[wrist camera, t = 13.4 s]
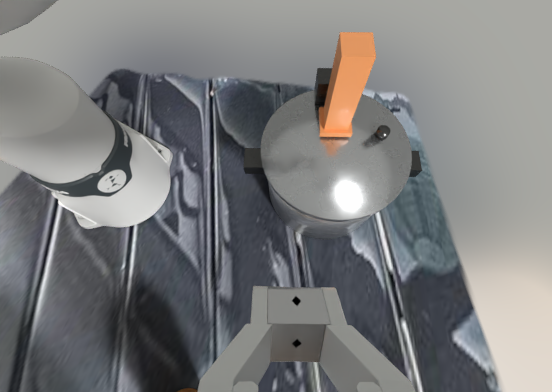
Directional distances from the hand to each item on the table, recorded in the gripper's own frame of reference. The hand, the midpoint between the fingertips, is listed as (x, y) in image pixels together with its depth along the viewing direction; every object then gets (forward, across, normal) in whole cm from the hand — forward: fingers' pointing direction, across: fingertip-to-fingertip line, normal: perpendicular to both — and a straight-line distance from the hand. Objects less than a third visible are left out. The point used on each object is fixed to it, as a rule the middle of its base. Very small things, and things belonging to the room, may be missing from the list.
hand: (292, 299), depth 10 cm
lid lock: (+29, -8, -1) cm, 30 cm away
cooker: (+35, -9, +11) cm, 38 cm away
